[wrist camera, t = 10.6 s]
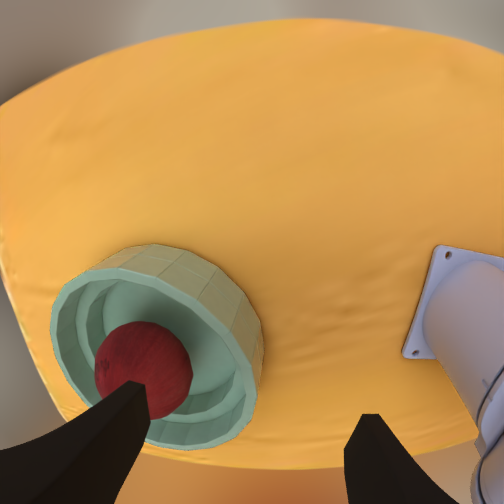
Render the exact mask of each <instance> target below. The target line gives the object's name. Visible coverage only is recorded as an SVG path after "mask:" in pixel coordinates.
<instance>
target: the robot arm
mask: <svg viewBox="0 0 504 504" xmlns="http://www.w3.org/2000/svg"><path fill="white" fill-rule="evenodd" d="M448 251H449V255H448V257H447V258H445V254H446V253H447V252H448ZM415 350H417V351H416V352H415V353H413V352H414V351H415ZM402 355H403V357H404V358H407V359H438V361H439V363H440V364H441V366H442V367H443V369H444V371H445V372H446V374H447V375H448V377H449V379H450V380H451V382H452V384H453V385H454V387H455V389H456V390H457V392H458V394H459V395H460V397H461V399H462V400H463V402H464V404H465V406H466V407H467V409H468V411H469V413H470V415H471V416H472V418H473V420H474V422H475V424H476V426H477V427H478V429H479V435H478V438H477V439H476V441H475V446H476V448H477V450H478V452H479V454H480V456H481V459H480V460H479V462H478V463H477V465H476V467H475V469H474V472H473V474H472V479H471V499H472V502H473V504H504V258H503V257H498V256H493V255H489V254H484V253H479V252H475V251H470V250H465V249H460V248H455V247H450V246H445V245H438V246H437V247H436V248H435V249H434V252H433V256H432V260H431V264H430V268H429V271H428V275H427V278H426V282H425V285H424V289H423V292H422V295H421V298H420V302H419V305H418V308H417V311H416V314H415V317H414V319H413V322H412V325H411V328H410V331H409V333H408V336H407V339H406V341H405V344H404V346H403V349H402ZM150 424H151V420H150V414H149V407H148V401H147V394H146V387H145V384H141V383H138V382H134V381H131V380H128V381H127V382H125V383H124V384H122V385H121V386H120V387H118V388H117V389H116V390H114V391H113V392H112V393H110V394H109V395H108V396H106V397H105V398H104V399H102V400H101V401H100V402H98V403H97V404H95V405H94V406H92V407H91V408H89V409H88V410H87V411H85V412H84V413H82V414H81V415H79V416H77V417H76V418H74V419H73V420H71V421H69V422H67V423H66V424H64V425H63V426H61V427H59V428H57V429H55V430H53V431H51V432H49V433H47V434H45V435H43V436H41V437H39V438H36V439H34V440H31V441H29V442H26V443H23V444H20V445H17V446H14V447H11V448H8V449H3V450H0V504H114V502H115V500H116V498H117V495H118V493H119V491H120V489H121V487H122V485H123V483H124V481H125V479H126V477H127V475H128V474H129V472H130V470H131V468H132V466H133V464H134V462H135V460H136V458H137V456H138V454H139V452H140V450H141V448H142V446H143V444H144V441H145V438H146V436H147V433H148V430H149V427H150ZM344 474H345V481H346V488H347V495H348V502H349V504H459V503H458V502H456V501H455V500H454V499H453V498H451V497H450V496H449V495H448V494H447V493H445V492H444V491H443V490H442V489H441V488H440V487H439V486H438V485H437V484H435V482H434V481H432V480H431V478H430V477H429V476H428V475H427V474H426V473H425V472H424V471H423V470H422V469H421V467H420V466H419V465H418V464H417V463H416V462H415V461H414V459H413V458H412V457H411V456H410V454H409V453H408V452H407V451H406V449H405V448H404V447H403V446H402V444H401V443H400V442H399V440H398V439H397V438H396V436H395V435H394V434H393V432H392V431H391V430H390V428H389V427H388V426H387V424H386V423H385V422H384V420H383V419H382V418H381V416H380V415H379V414H362V416H361V418H360V420H359V422H358V424H357V426H356V428H355V430H354V431H353V433H352V435H351V437H350V439H349V441H348V443H347V444H346V446H345V448H344Z"/></svg>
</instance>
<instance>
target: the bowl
mask: <svg viewBox="0 0 504 504" xmlns="http://www.w3.org/2000/svg"><path fill="white" fill-rule="evenodd" d="M134 321H146V322H154V323H157V324H159V325H161V326H163V327H165V328H167V329H169V330H170V331H171V332H172V333H173V334H174V335H175V336H176V337H177V338H178V339H179V340H180V341H181V342H182V344H183V345H184V347H185V349H186V350H187V352H188V354H189V357H190V361H191V365H192V370H193V374H194V375H193V379H192V383H191V387H190V390H189V394H188V397H187V398H186V399H185V401H184V402H183V403H182V404H181V405H180V406H179V407H178V408H177V409H176V410H175V411H173V412H172V413H171V414H170V415H168V416H166V417H164V418H161V419H155V420H151V424H150V427H149V430H148V433H147V436H146V438H145V441H144V442H146V443H149V444H152V445H155V446H158V447H162V448H169V449H177V450H188V451H189V450H198V449H207V448H213V447H216V446H218V445H220V444H222V443H225V442H227V441H229V440H231V439H233V438H235V437H236V436H237V435H238V434H239V433H240V432H241V431H242V430H243V429H244V427H245V426H246V425H247V424H248V423H249V422H250V421H251V419H252V416H253V412H254V408H255V404H256V401H257V397H258V391H259V384H260V378H261V371H262V365H263V358H264V351H265V350H264V349H265V348H264V342H263V336H262V330H261V323H260V320H259V318H258V317H257V315H256V313H255V311H254V309H253V307H252V306H251V304H250V302H249V300H248V298H247V296H246V295H245V293H244V292H243V291H242V290H241V289H240V288H239V287H238V286H237V285H236V284H235V283H234V282H233V281H232V280H231V279H230V278H229V277H228V276H227V275H226V274H225V273H224V272H223V271H222V270H221V269H220V268H219V267H217V266H215V265H214V264H212V263H210V262H208V261H206V260H204V259H203V258H201V257H199V256H197V255H195V254H193V253H192V252H190V251H187V250H183V249H178V248H173V247H169V246H164V245H159V244H149V245H142V246H135V247H128V248H125V249H123V250H121V251H119V252H118V253H116V254H114V255H112V256H111V257H109V258H107V259H105V260H104V261H102V262H100V263H98V264H97V265H95V266H93V267H92V268H90V269H88V270H86V271H85V272H83V273H82V274H80V275H79V276H77V277H75V278H74V279H72V280H71V281H69V282H68V283H66V284H65V285H64V286H63V288H62V290H61V291H60V293H59V295H58V297H57V298H56V300H55V302H54V304H53V306H52V313H51V322H50V335H51V340H52V344H53V349H54V353H55V356H56V359H57V361H58V363H59V365H60V367H61V369H62V371H63V373H64V375H65V377H66V379H67V381H68V383H69V384H70V385H71V387H72V388H73V389H74V390H75V392H76V393H77V394H78V395H79V397H80V398H81V399H82V400H83V402H84V403H85V404H86V405H87V406H88V407H89V408H91V407H92V406H94V405H95V404H97V403H98V402H100V401H101V400H102V398H101V396H100V394H99V392H98V390H97V387H96V384H95V379H94V368H95V356H96V353H97V350H98V348H99V347H100V345H101V344H102V342H103V341H104V340H105V338H106V337H107V336H108V335H109V333H110V332H111V331H112V330H114V329H116V328H117V327H119V326H121V325H124V324H127V323H130V322H134Z"/></svg>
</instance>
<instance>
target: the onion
mask: <svg viewBox="0 0 504 504" xmlns="http://www.w3.org/2000/svg"><path fill="white" fill-rule="evenodd" d="M193 375H194V374H193V370H192V365H191V361H190V357H189V354H188V352H187V350H186V349H185V347H184V345H183V344H182V342H181V341H180V340H179V339H178V338H177V337H176V336H175V335H174V334H173V333H172V332H171V331H170V330H169V329H167V328H165V327H163V326H161V325H159V324H157V323H154V322H146V321H134V322H130V323H127V324H124V325H121V326H119V327H117V328H116V329H114V330H112V331H111V332H110V333H109V335H108V336H107V337H106V338H105V340H104V341H103V342H102V344H101V345H100V347H99V348H98V350H97V353H96V356H95V368H94V379H95V384H96V387H97V390H98V392H99V394H100V396H101V398H102V399H104V398H105V397H106V396H108V395H109V394H110V393H112V392H113V391H114V390H116V389H117V388H118V387H120V386H121V385H122V384H124V383H125V382H127V381H128V380H131V381H134V382H138V383H141V384H145V387H146V394H147V401H148V407H149V414H150V420H155V419H161V418H164V417H166V416H168V415H170V414H171V413H172V412H173V411H175V410H176V409H177V408H178V407H179V406H180V405H181V404H182V403H183V402H184V401H185V399H186V398H187V397H188V394H189V390H190V387H191V383H192V379H193Z"/></svg>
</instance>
